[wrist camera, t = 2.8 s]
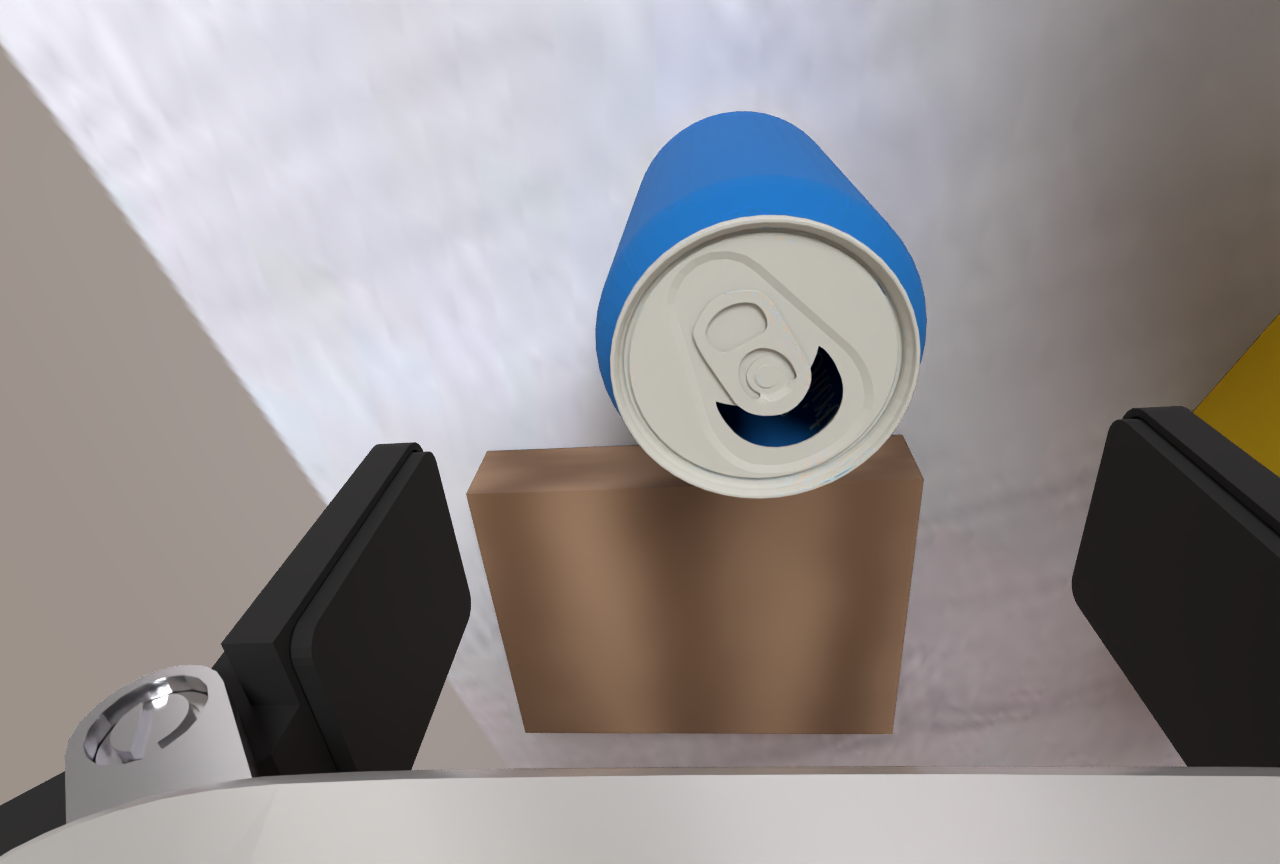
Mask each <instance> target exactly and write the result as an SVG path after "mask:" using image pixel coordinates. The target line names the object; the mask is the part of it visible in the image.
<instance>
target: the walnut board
mask: <svg viewBox="0 0 1280 864" xmlns="http://www.w3.org/2000/svg"><path fill="white" fill-rule="evenodd" d="M923 481H924V479H923V477H922V475H921V473H920V470H919V468H918V466H917V464H916V462H915V460H914V458H913V456H912V454H911V452H910V450H909V448H908V446H907V443H906V441H905V439H904V437H903V435H891V436H890V437H889V438H888V439H887V441H886V442H885V443H884V444H883V445H882V446H881V447H880V448H879V449H878V451H876V452H875V453H874V454H873V455H872V456H871V457H870V458H868V459H867V460H866V461H865V462H864V463H863V464H861V465H860V466H858V467H857V468H855V469H854V470H852V471H851V472H850V473H848V474H846V475H844V476H843V477H841V478H839V479H837V480H835V481H833V482H831V483H829V484H826V485H824V486H821V487H819V488H817V489H814V490H810V491H807V492H803V493H800V494H796V495H790V496H784V497H779V498H763V499H756V498H739V497H733V496H726V495H722V494H718V493H714V492H710V491H707V490H704V489H702V488H699V487H696V486H694V485H691V484H689V483H687V482H685V481H684V480H682V479H680V478H678V477H676V476H674V475H673V474H671V473H670V472H668V471H667V470H666V469H664V468H663V467H661V466H660V465H659V464H658V463H657V462H656V461H654V460H653V459H652V458H651V457H650V456H649V455H648V454H647V453H646V452H645V451H644V450H643V449H642V447H641V446H640V445H632V446H606V447H580V448H555V449H529V450H503V451H487V453H486V455H485V457H484V459H483V461H482V463H481V465H480V467H479V469H478V471H477V473H476V475H475V477H474V479H473V481H472V483H471V485H470V487H469V489H468V491H467V493H466V495H467V499H468V503H469V507H470V512H471V516H472V520H473V524H474V528H475V532H476V536H477V540H478V544H479V548H480V552H481V556H482V560H483V564H484V568H485V572H486V576H487V580H488V584H489V588H490V592H491V596H492V600H493V604H494V608H495V612H496V616H497V620H498V624H499V628H500V632H501V636H502V640H503V644H504V648H505V652H506V656H507V660H508V664H509V668H510V672H511V676H512V680H513V684H514V688H515V692H516V696H517V700H518V704H519V708H520V712H521V716H522V720H523V724H524V728H525V732H526V733H747V734H892V732H893V724H894V716H895V707H896V699H897V691H898V683H899V675H900V667H901V659H902V651H903V643H904V635H905V627H906V618H907V610H908V602H909V594H910V586H911V578H912V570H913V562H914V554H915V546H916V537H917V529H918V521H919V513H920V505H921V497H922V489H923Z"/></svg>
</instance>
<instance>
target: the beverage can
mask: <svg viewBox="0 0 1280 864" xmlns="http://www.w3.org/2000/svg"><path fill="white" fill-rule="evenodd" d="M926 323H927V318H926V306H925V296H924V292H923V288H922V284H921V280H920V276H919V274H918V271H917V269H916V266H915V264H914V261H913V259H912V257H911V255H910V254H909V252H908V250H907V249H906V247H905V245H904V244H903V242H902V240H901V239H900V238H899V236H898V235H897V234H896V233H895V232H894V230H893V229H892V228H891V227H890V225H889V224H888V223H887V222H886V221H885V220H884V219H883V217H882V216H881V215H880V214H879V213H878V212H877V211H876V210H875V209H874V207H873V206H872V205H871V204H870V203H869V202H868V201H867V200H866V199H865V197H864V196H863V195H862V194H861V193H860V192H859V191H858V190H857V189H856V187H855V186H854V185H853V184H852V183H851V182H850V181H849V180H848V179H847V177H846V176H845V175H844V174H843V173H842V172H841V171H840V170H839V168H838V167H837V166H836V165H835V164H834V163H833V162H832V161H831V160H830V158H829V157H828V156H827V155H826V154H825V153H824V152H823V151H822V150H821V148H820V147H819V146H818V145H817V144H816V143H815V142H814V141H813V140H812V139H811V138H810V137H809V136H808V135H807V134H805V133H804V132H803V131H802V130H800V129H799V128H797V127H796V126H794V125H793V124H791V123H789V122H787V121H784V120H782V119H780V118H778V117H774V116H771V115H768V114H764V113H757V112H747V111H736V112H728V113H721V114H718V115H714V116H711V117H707V118H705V119H703V120H700V121H698V122H696V123H694V124H692V125H690V126H689V127H687V128H685V129H684V130H682V131H681V132H680V133H678V134H677V135H676V136H675V137H673V138H672V139H671V140H670V141H669V142H668V143H667V144H666V145H665V146H664V147H663V148H662V149H661V150H660V151H659V153H658V154H657V155H656V157H655V158H654V160H653V161H652V162H651V164H650V166H649V168H648V170H647V171H646V173H645V175H644V178H643V180H642V183H641V185H640V188H639V191H638V193H637V196H636V199H635V202H634V205H633V207H632V210H631V213H630V216H629V218H628V221H627V224H626V227H625V230H624V232H623V235H622V238H621V241H620V243H619V246H618V249H617V252H616V255H615V257H614V260H613V263H612V266H611V268H610V271H609V274H608V277H607V279H606V282H605V285H604V288H603V291H602V295H601V299H600V303H599V307H598V311H597V321H596V352H597V357H598V363H599V369H600V372H601V375H602V378H603V381H604V384H605V388H606V390H607V392H608V394H609V396H610V398H611V401H612V403H613V405H614V406H615V408H616V410H617V411H618V413H619V414H620V416H621V417H622V419H623V420H624V422H625V425H626V427H627V428H628V430H629V431H630V433H631V434H632V436H633V437H634V439H635V440H636V442H637V443H638V444H639V445H640V446H641V447H642V449H643V450H644V451H645V452H646V453H647V454H648V455H649V456H650V457H651V458H652V459H653V460H654V461H656V462H657V463H658V464H659V465H660V466H661V467H663V468H664V469H666V470H667V471H668V472H670V473H671V474H673V475H674V476H676V477H678V478H680V479H682V480H684V481H685V482H687V483H689V484H691V485H694V486H696V487H699V488H702V489H704V490H707V491H710V492H714V493H718V494H722V495H726V496H733V497H739V498H756V499H763V498H779V497H784V496H790V495H796V494H800V493H803V492H807V491H810V490H814V489H817V488H819V487H821V486H824V485H826V484H829V483H831V482H833V481H835V480H837V479H839V478H841V477H843V476H844V475H846V474H848V473H850V472H851V471H852V470H854V469H855V468H857V467H858V466H860V465H861V464H863V463H864V462H865V461H866V460H867V459H868V458H870V457H871V456H872V455H873V454H874V453H875V452H876V451H878V449H879V448H880V447H881V446H882V445H883V444H884V443H885V442H886V441H887V439H888V438H889V437H890V436H891V435H892V433H893V432H894V430H895V429H896V427H897V426H898V424H899V423H900V422H901V420H902V418H903V416H904V414H905V412H906V410H907V408H908V406H909V404H910V401H911V398H912V396H913V393H914V390H915V387H916V383H917V378H918V373H919V366H920V363H921V360H922V355H923V350H924V345H925V339H926Z"/></svg>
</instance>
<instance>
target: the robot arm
mask: <svg viewBox="0 0 1280 864" xmlns="http://www.w3.org/2000/svg"><path fill="white" fill-rule="evenodd" d="M1072 591H1073V596H1074V598H1075V601H1076V603H1077V605H1078V607H1079V608H1080V610H1081V611H1082V613H1083V614H1084V616H1085V617H1086V618H1087V620H1088V621H1089V623H1090V624H1091V626H1092V627H1093V629H1094V630H1095V632H1096V633H1097V635H1098V636H1099V638H1100V639H1101V640H1102V642H1103V643H1104V645H1105V646H1106V648H1107V649H1108V651H1109V652H1110V654H1111V655H1112V657H1113V658H1114V660H1115V661H1116V662H1117V664H1118V665H1119V667H1120V668H1121V670H1122V671H1123V673H1124V674H1125V676H1126V677H1127V679H1128V680H1129V682H1130V683H1131V684H1132V686H1133V687H1134V689H1135V690H1136V692H1137V693H1138V695H1139V696H1140V698H1141V699H1142V701H1143V702H1144V704H1145V705H1146V706H1147V708H1148V709H1149V711H1150V712H1151V714H1152V715H1153V717H1154V718H1155V720H1156V721H1157V723H1158V724H1159V726H1160V727H1161V728H1162V730H1163V731H1164V733H1165V734H1166V736H1167V737H1168V739H1169V740H1170V742H1171V743H1172V745H1173V746H1174V748H1175V749H1176V750H1177V752H1178V753H1179V755H1180V756H1181V758H1182V759H1183V761H1184V762H1185V764H1186V765H1187V767H1087V766H885V767H661V768H548V769H458V770H457V769H456V770H411V769H412V767H413V764H414V761H415V759H416V756H417V753H418V751H419V748H420V746H421V743H422V740H423V738H424V735H425V732H426V730H427V727H428V724H429V722H430V719H431V717H432V714H433V712H434V709H435V706H436V704H437V701H438V698H439V696H440V693H441V691H442V688H443V685H444V683H445V680H446V678H447V675H448V672H449V670H450V667H451V664H452V662H453V659H454V657H455V654H456V651H457V649H458V646H459V644H460V641H461V638H462V636H463V633H464V630H465V628H466V625H467V623H468V620H469V616H470V611H471V597H470V591H469V588H468V584H467V580H466V576H465V572H464V568H463V564H462V560H461V556H460V552H459V548H458V544H457V541H456V537H455V533H454V529H453V525H452V521H451V517H450V513H449V509H448V505H447V501H446V498H445V494H444V490H443V486H442V482H441V478H440V474H439V470H438V466H437V462H436V459H435V457H434V455H433V454H432V453H431V452H423V450H422V448H421V446H420V445H419V444H417V443H416V442H415V443H394V444H377V445H376V446H374V447H373V448H372V450H371V451H370V452H369V454H368V455H367V456H366V457H365V459H364V460H363V461H362V463H361V464H360V465H359V466H358V468H357V469H356V470H355V472H354V473H353V474H352V475H351V477H350V478H349V479H348V481H347V482H346V483H345V484H344V486H343V487H342V488H341V490H340V491H339V492H338V493H337V495H336V496H335V497H334V499H333V500H332V501H331V502H330V504H329V505H328V506H327V508H326V509H325V510H324V512H323V513H322V514H321V515H320V517H319V518H318V519H317V521H316V522H315V523H314V525H313V526H312V527H311V528H310V530H309V531H308V532H307V534H306V535H305V536H304V537H303V539H302V540H301V541H300V543H299V544H298V545H297V546H296V548H295V549H294V550H293V552H292V553H291V554H290V555H289V557H288V558H287V559H286V561H285V562H284V563H283V564H282V566H281V567H280V568H279V570H278V571H277V572H276V573H275V575H274V576H273V577H272V579H271V580H270V581H269V582H268V584H267V585H266V586H265V588H264V589H263V590H262V591H261V593H260V594H259V595H258V597H257V598H256V599H255V600H254V602H253V603H252V604H251V606H250V607H249V608H248V610H247V611H246V612H245V613H244V615H243V616H242V618H241V619H240V620H239V621H238V622H237V624H236V625H235V626H234V628H233V629H232V630H231V632H230V633H229V634H228V635H227V637H226V638H225V639H224V640H223V642H222V643H221V645H222V647H223V649H224V653H223V654H222V655H221V657H220V658H219V659H218V661H217V662H216V663H215V665H214V666H213V667H212V669H210V668H208V667H205V666H200V665H181V666H176V667H170V668H165V669H162V670H159V671H156V672H154V673H151V674H148V675H146V676H142V677H140V678H139V679H137V680H135V681H133V682H131V683H129V684H127V685H125V686H124V687H122V688H120V689H118V690H117V691H115V692H114V693H113V694H111V695H110V696H109V697H107V698H106V699H104V700H103V701H102V702H100V703H99V704H98V705H97V706H96V707H95V708H94V709H93V710H92V711H91V712H90V713H89V714H88V715H87V716H86V717H85V718H84V719H83V720H82V721H81V722H80V723H79V725H78V726H77V728H76V730H75V731H74V733H73V734H72V736H71V738H70V739H69V741H68V745H67V749H66V754H65V772H63V773H61V774H59V775H57V776H55V777H53V778H51V779H50V780H48V781H46V782H44V783H42V784H40V785H38V786H36V787H34V788H32V789H31V790H29V791H27V792H25V793H23V794H21V795H19V796H17V797H16V798H14V799H12V800H10V801H8V802H6V803H4V804H2V805H1V806H0V864H1280V477H1278V476H1277V475H1276V474H1274V473H1273V472H1272V471H1270V470H1269V469H1268V468H1266V467H1265V466H1264V465H1262V464H1261V463H1260V462H1258V461H1257V460H1256V459H1254V458H1253V457H1252V456H1250V455H1249V454H1248V453H1246V452H1245V451H1244V450H1242V449H1241V448H1239V447H1238V446H1237V445H1235V444H1234V443H1233V442H1231V441H1230V440H1229V439H1227V438H1226V437H1225V436H1223V435H1222V434H1221V433H1219V432H1218V431H1217V430H1215V429H1214V428H1213V427H1211V426H1210V425H1209V424H1207V423H1206V422H1205V421H1203V420H1202V419H1201V418H1199V417H1198V416H1197V415H1195V414H1194V413H1193V412H1191V411H1190V410H1189V409H1187V408H1185V407H1182V406H1171V407H1150V408H1132V409H1131V410H1129V411H1127V413H1126V414H1125V415H1124V417H1123V419H1122V420H1116V421H1114V422H1113V423H1112V425H1111V426H1110V428H1109V431H1108V435H1107V439H1106V443H1105V447H1104V451H1103V455H1102V459H1101V463H1100V467H1099V471H1098V475H1097V479H1096V483H1095V487H1094V491H1093V495H1092V499H1091V503H1090V508H1089V512H1088V516H1087V520H1086V524H1085V528H1084V532H1083V536H1082V540H1081V544H1080V548H1079V552H1078V556H1077V560H1076V564H1075V568H1074V572H1073V576H1072Z"/></svg>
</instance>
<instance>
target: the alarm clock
mask: <svg viewBox="0 0 1280 864" xmlns="http://www.w3.org/2000/svg"><path fill="white" fill-rule="evenodd" d="M1193 413H1194V414H1195V415H1197V416H1198V417H1199V418H1201V419H1202V420H1203V421H1205V422H1206V423H1207V424H1209V425H1210V426H1211V427H1213V428H1214V429H1215V430H1217V431H1218V432H1219V433H1221V434H1222V435H1223V436H1225V437H1226V438H1227V439H1229V440H1230V441H1231V442H1233V443H1234V444H1235V445H1237V446H1238V447H1239V448H1241V449H1242V450H1244V451H1245V452H1246V453H1248V454H1249V455H1250V456H1252V457H1253V458H1254V459H1256V460H1257V461H1258V462H1260V463H1261V464H1262V465H1264V466H1265V467H1266V468H1268V469H1269V470H1270V471H1272V472H1273V473H1274V474H1276V475H1277V476H1278V477H1280V314H1279V315H1278V316H1277V317H1276V318H1275V319H1274V321H1273V322H1272V323H1271V324H1270V325H1269V326H1268V327H1267V329H1266V330H1265V331H1264V332H1263V333H1262V334H1261V335H1260V337H1259V338H1258V339H1257V340H1256V341H1255V342H1254V343H1253V344H1252V346H1251V347H1250V348H1249V349H1248V350H1247V351H1246V352H1245V354H1244V355H1243V356H1242V357H1241V358H1240V359H1239V360H1238V362H1237V363H1236V364H1235V365H1234V366H1233V367H1232V368H1231V369H1230V371H1229V372H1228V373H1227V374H1226V375H1225V376H1224V377H1223V379H1222V380H1221V381H1220V382H1219V383H1218V384H1217V385H1216V387H1215V388H1214V389H1213V390H1212V391H1211V392H1210V393H1209V394H1208V396H1207V397H1206V398H1205V399H1204V400H1203V401H1202V402H1201V404H1200V405H1199V406H1198V407H1197V408H1196V409H1195V410H1194V412H1193Z"/></svg>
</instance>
